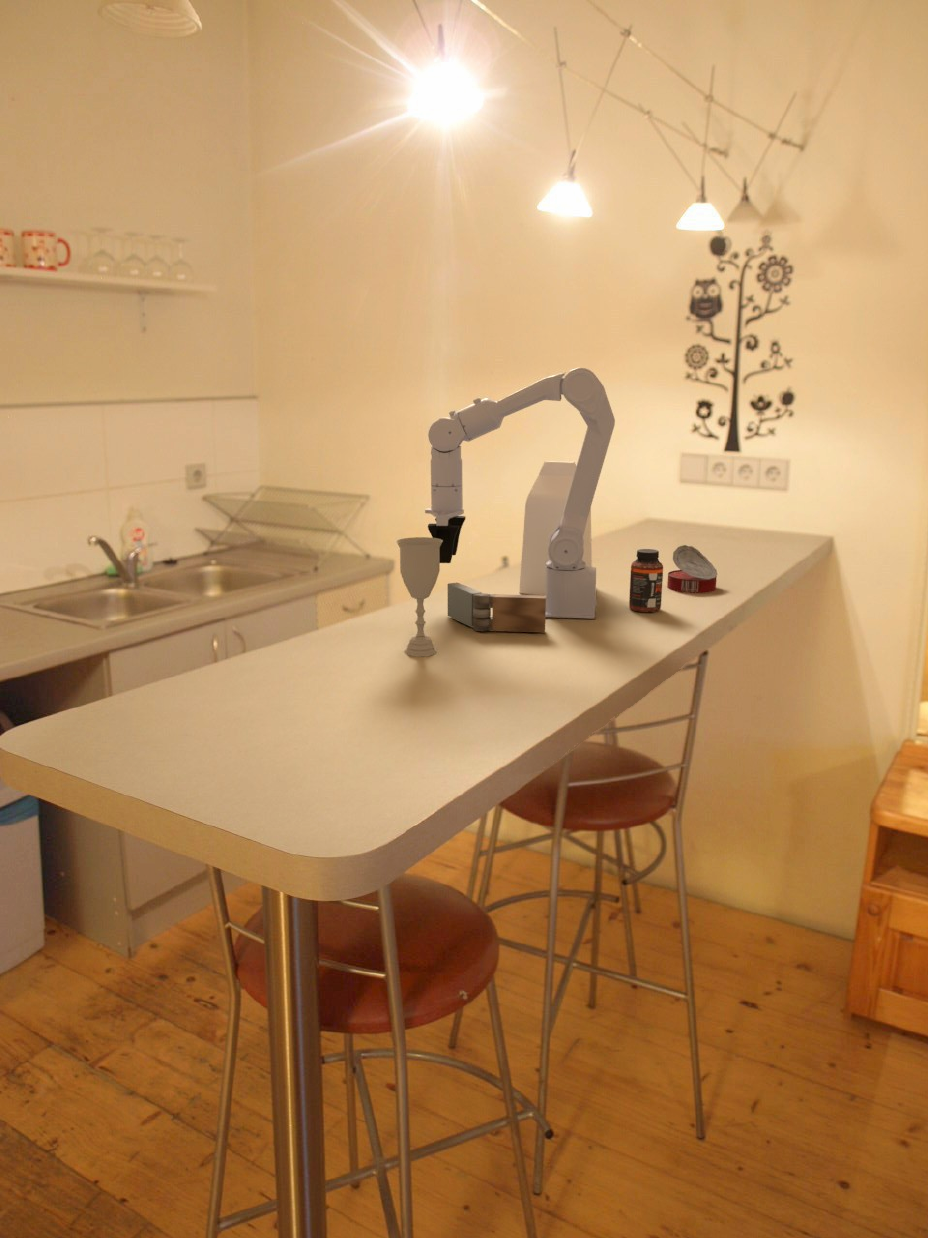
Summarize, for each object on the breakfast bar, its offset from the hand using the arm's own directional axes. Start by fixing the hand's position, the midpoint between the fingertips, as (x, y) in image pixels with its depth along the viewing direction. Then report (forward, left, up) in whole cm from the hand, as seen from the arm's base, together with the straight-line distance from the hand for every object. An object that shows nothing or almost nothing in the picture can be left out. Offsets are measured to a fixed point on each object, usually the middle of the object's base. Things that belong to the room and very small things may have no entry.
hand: (447, 558), depth 184 cm
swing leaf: (-5, +10, -9) cm, 15 cm away
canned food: (-48, -25, -10) cm, 55 cm away
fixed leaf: (-12, +14, -9) cm, 21 cm away
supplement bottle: (-37, -5, -10) cm, 38 cm away
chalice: (+1, +28, -10) cm, 30 cm away
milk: (-20, -20, -10) cm, 30 cm away
